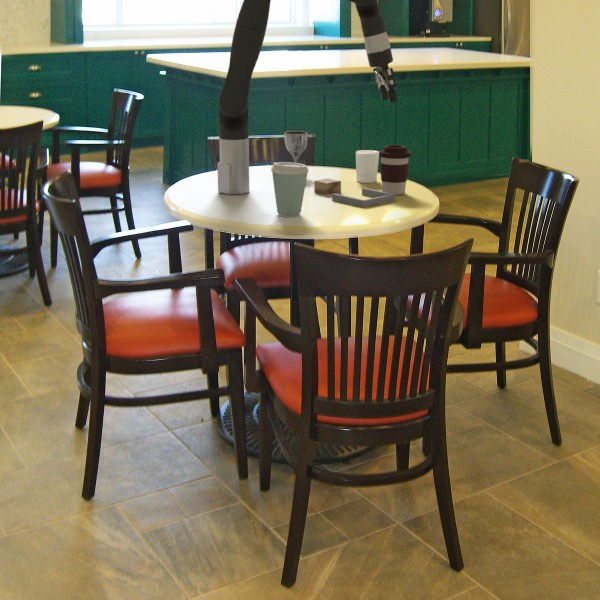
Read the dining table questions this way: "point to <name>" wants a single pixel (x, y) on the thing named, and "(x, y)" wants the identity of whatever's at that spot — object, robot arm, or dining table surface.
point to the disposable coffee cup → (289, 187)
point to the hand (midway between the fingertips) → (389, 100)
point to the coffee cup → (394, 168)
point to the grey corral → (380, 198)
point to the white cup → (367, 165)
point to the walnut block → (327, 186)
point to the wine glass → (295, 143)
